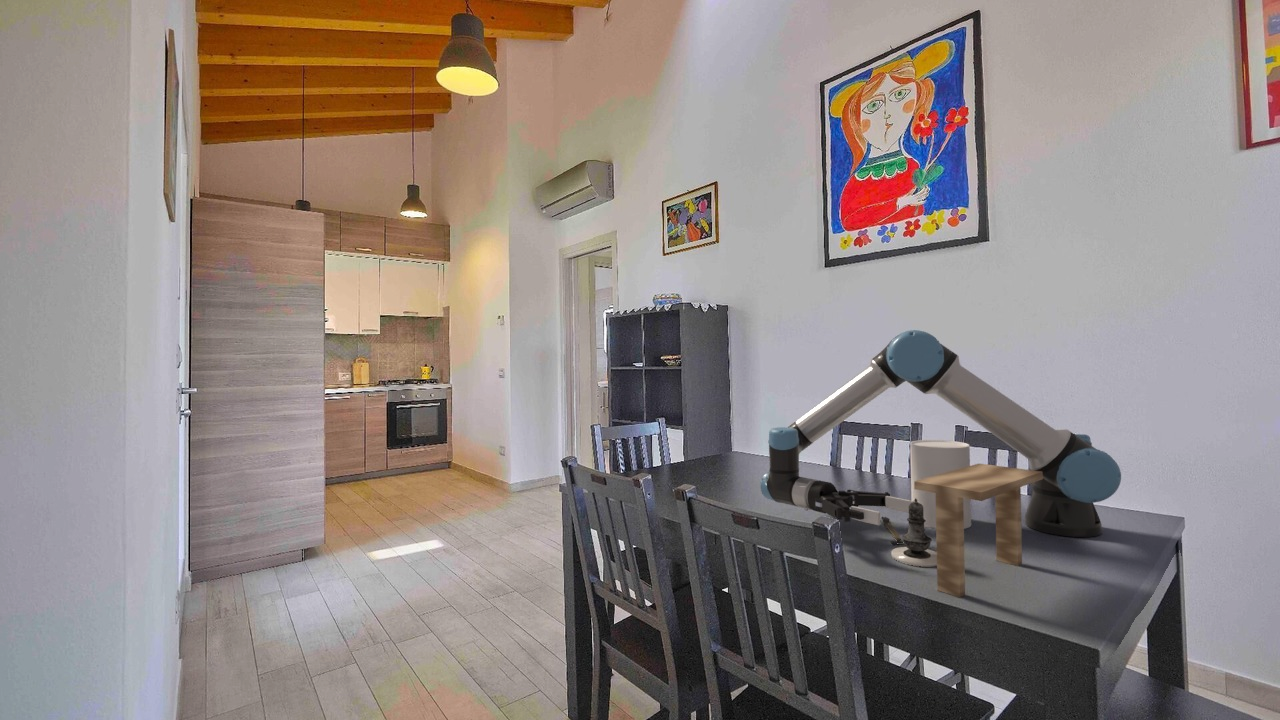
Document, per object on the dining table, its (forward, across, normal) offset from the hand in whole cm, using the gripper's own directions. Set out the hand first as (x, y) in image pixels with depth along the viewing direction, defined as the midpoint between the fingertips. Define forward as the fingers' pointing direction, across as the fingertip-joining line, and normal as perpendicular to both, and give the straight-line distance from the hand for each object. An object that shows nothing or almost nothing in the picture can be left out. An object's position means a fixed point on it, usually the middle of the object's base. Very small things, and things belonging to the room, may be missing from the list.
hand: (896, 512), depth 128 cm
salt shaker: (+4, 0, -8) cm, 9 cm away
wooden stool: (+17, 0, -9) cm, 19 cm away
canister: (-6, -30, -9) cm, 32 cm away
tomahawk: (-8, -14, -10) cm, 19 cm away
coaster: (+4, 0, -9) cm, 10 cm away
